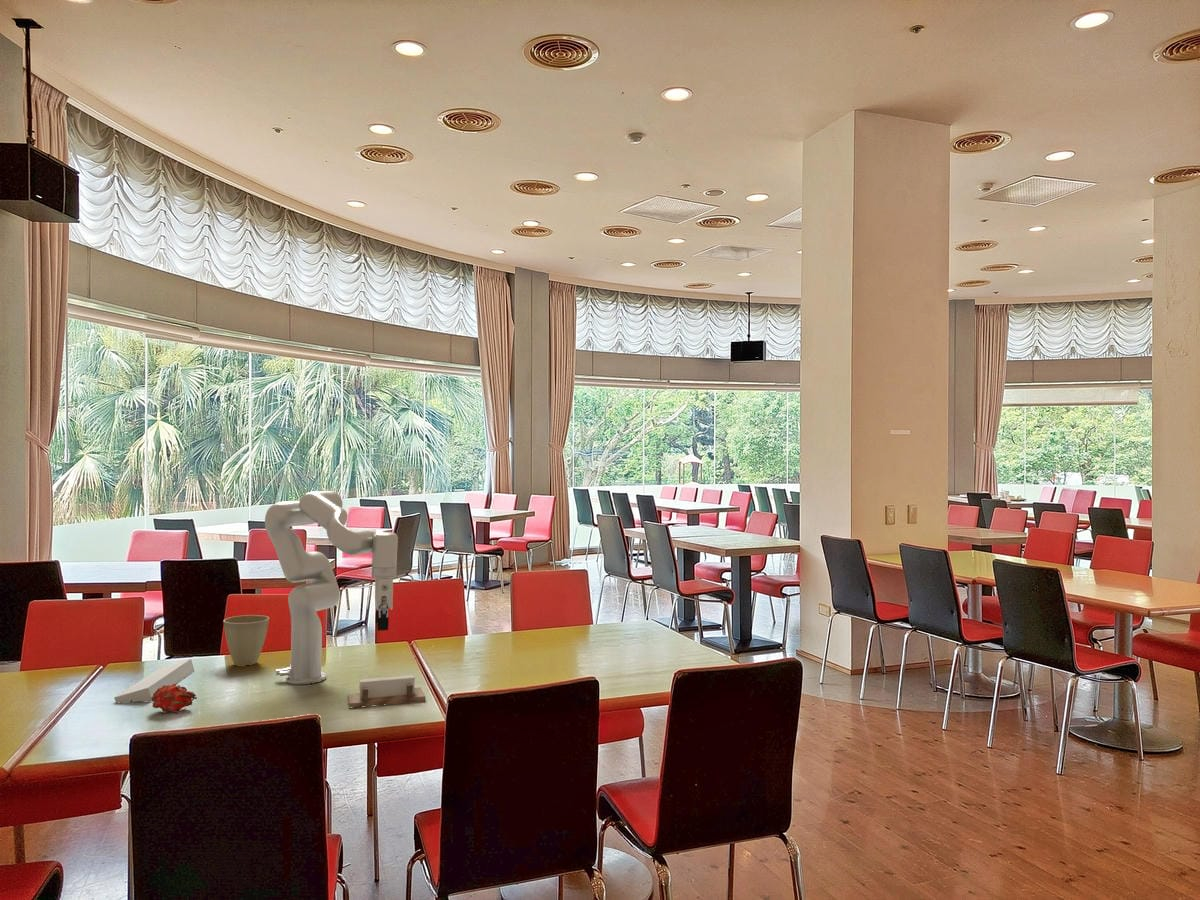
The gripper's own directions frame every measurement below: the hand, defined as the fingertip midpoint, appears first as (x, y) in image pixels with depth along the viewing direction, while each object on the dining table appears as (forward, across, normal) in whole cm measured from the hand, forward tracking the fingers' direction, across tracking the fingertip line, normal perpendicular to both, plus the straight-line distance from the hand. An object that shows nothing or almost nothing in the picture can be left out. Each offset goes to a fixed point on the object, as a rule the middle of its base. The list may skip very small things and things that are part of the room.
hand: (381, 626), depth 251 cm
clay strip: (+19, -8, -2) cm, 21 cm away
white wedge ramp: (+25, +28, +67) cm, 77 cm away
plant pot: (+24, +50, +43) cm, 70 cm away
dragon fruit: (+23, -1, +57) cm, 62 cm away
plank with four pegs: (+21, -8, -2) cm, 22 cm away
